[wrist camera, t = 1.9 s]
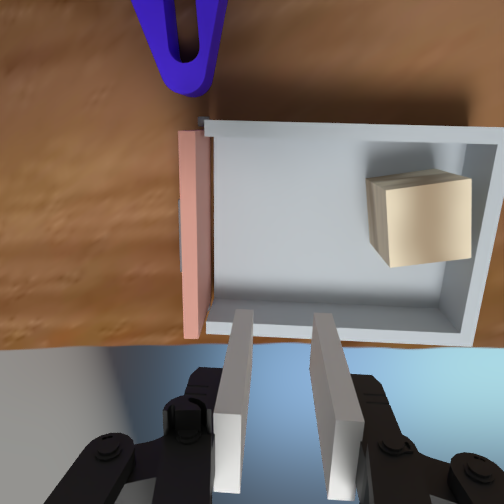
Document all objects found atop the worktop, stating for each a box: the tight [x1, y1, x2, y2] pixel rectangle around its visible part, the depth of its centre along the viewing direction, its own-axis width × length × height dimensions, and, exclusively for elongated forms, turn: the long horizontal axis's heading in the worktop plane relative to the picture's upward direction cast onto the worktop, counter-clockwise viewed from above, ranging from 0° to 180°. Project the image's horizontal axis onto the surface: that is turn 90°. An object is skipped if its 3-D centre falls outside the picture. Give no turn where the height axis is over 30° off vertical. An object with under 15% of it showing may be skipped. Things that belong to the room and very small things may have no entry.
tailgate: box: [178, 130, 211, 339], centre depth 35 cm, size 8×16×2 cm
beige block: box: [365, 169, 472, 268], centre depth 33 cm, size 6×6×7 cm
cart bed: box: [198, 117, 504, 347], centre depth 37 cm, size 24×19×8 cm
